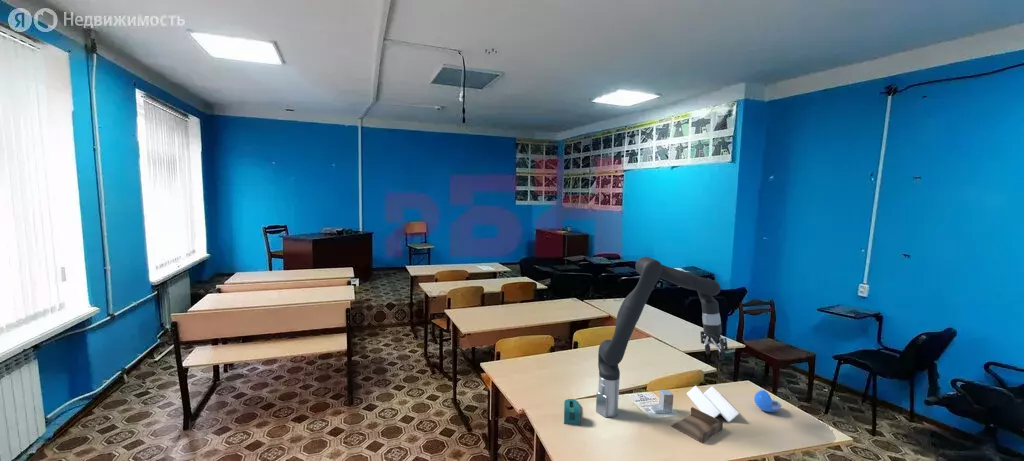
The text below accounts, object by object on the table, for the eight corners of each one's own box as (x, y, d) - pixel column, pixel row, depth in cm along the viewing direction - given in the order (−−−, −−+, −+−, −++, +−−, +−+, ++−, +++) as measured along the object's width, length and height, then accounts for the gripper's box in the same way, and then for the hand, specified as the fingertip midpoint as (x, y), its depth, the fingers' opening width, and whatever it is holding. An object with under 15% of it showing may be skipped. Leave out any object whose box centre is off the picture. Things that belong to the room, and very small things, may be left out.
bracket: (579, 425, 174) (580, 408, 173) (563, 424, 175) (564, 407, 174) (578, 404, 192) (579, 388, 191) (564, 402, 193) (564, 387, 192)
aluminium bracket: (667, 408, 190) (668, 390, 189) (672, 413, 185) (673, 394, 185) (651, 408, 189) (652, 390, 188) (655, 413, 185) (656, 395, 184)
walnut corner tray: (701, 443, 164) (702, 434, 163) (671, 426, 175) (671, 417, 175) (722, 430, 173) (722, 421, 172) (691, 415, 184) (692, 407, 184)
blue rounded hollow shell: (786, 416, 186) (788, 396, 185) (762, 416, 185) (764, 396, 184) (771, 404, 195) (773, 385, 194) (748, 404, 195) (749, 386, 194)
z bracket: (718, 431, 180) (709, 421, 179) (694, 401, 205) (686, 393, 204) (739, 413, 179) (730, 404, 178) (712, 386, 204) (704, 377, 203)
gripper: (694, 320, 191) (697, 353, 192) (716, 327, 177) (719, 363, 178) (707, 317, 193) (710, 350, 194) (730, 324, 179) (733, 359, 180)
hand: (714, 356), depth 186 cm, fingers open, 8 cm apart
